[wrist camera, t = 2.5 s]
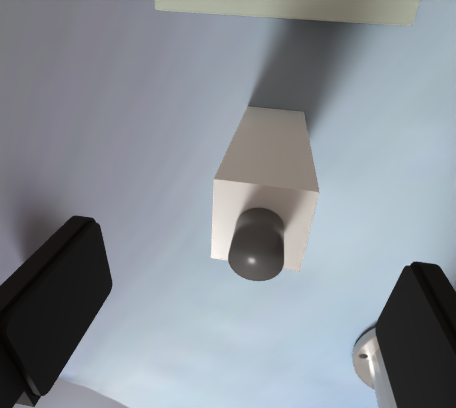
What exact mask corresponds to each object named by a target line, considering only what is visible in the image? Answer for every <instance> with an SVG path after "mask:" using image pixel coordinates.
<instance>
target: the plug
mask: <svg viewBox="0 0 456 408" xmlns="http://www.w3.org/2000/svg"><path fill="white" fill-rule="evenodd" d="M318 196H319V188H318V182H317V177H316V172H315V167H314V162H313V157H312V152H311V146H310V141H309V136H308V131H307V126H306V121H305V116H304V112H302V111H291V110H281V109H271V108H260V107H250V106H247V109H246V111H245V113H244V115H243V117H242V119H241V121H240V124H239V126H238V128H237V130H236V132H235V134H234V137H233V139H232V141H231V143H230V145H229V147H228V149H227V152H226V154H225V156H224V158H223V160H222V162H221V165H220V167H219V169H218V171H217V173H216V175H215V178H214V189H213V218H212V246H211V258H216V259H223V260H228V261H229V264H230V266H231V268H232V269H233V270H234V272H235V273H237V274H238V275H239V276H241V277H243V278H245V279H248V280H253V281H265V280H269V279H271V278H274V277H275V276H277V275H278V274H279V273H280V272H281V270H282V269H287V270H294V271H300V270H301V266H302V262H303V258H304V253H305V249H306V245H307V241H308V237H309V233H310V229H311V225H312V221H313V216H314V212H315V208H316V204H317V200H318Z"/></svg>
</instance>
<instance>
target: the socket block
mask: <svg viewBox="0 0 456 408" xmlns="http://www.w3.org/2000/svg"><path fill="white" fill-rule="evenodd" d="M419 4H420V0H155V10H165V11H175V12H188V13H204V14H220V15H236V16H251V17H267V18H283V19H299V20H314V21H330V22H346V23H362V24H377V25H400V26H412V25H413V22H414V19H415V16H416V13H417V10H418V7H419Z"/></svg>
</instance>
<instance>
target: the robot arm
mask: <svg viewBox="0 0 456 408" xmlns="http://www.w3.org/2000/svg"><path fill="white" fill-rule="evenodd" d="M111 289H112V278H111V274H110V269H109V264H108V260H107V255H106V251H105V246H104V241H103V237H102V232H101V228H100V225H99V224H98V223H96V221H95V220H94V218H90V217H83V216H73V217H71V218H70V219H69V220H68V221H67V222H66V223H65V224H64V225H63V226H62V227H61V228H60V229H59V230H58V231H56V232H55V233H54V234H53V235H52V236H51V237H50V238H49V239H48V240H47V241H46V242H45V243H44V244H43V245H42V246H41V247H40V248H39V249H38V250H37V251H36V252H35V253H34V254H33V255H32V256H31V257H30V258H29V259H28V260H26V261H25V262H24V263H23V264H22V265H21V266H20V267H19V268H18V269H17V270H16V271H15V272H14V273H13V274H12V275H11V276H10V277H9V278H8V279H7V280H6V281H5V282H4V283H3V284H2V285H1V286H0V408H12V407H13V406H14V405H15V403H17V404H22V405H27V406H32V407H35V405H36V403H37V402H38V400H39V399H40V397H41V396H44V395H46V394H47V393H48V392H49V391H50V389H51V388H52V386H53V385H54V383H55V381H56V380H57V378H58V376H59V375H60V373H61V372H62V370H63V368H64V367H65V365H66V363H67V362H68V360H69V359H70V357H71V355H72V354H73V352H74V350H75V349H76V347H77V346H78V344H79V342H80V341H81V339H82V337H83V336H84V334H85V333H86V331H87V329H88V328H89V326H90V324H91V323H92V321H93V320H94V318H95V316H96V315H97V313H98V311H99V310H100V308H101V307H102V305H103V303H104V302H105V300H106V298H107V297H108V295H109V294H110V292H111ZM352 360H353V366H354V369H355V372H356V374H357V376H358V377H359V379H361V380H362V381H363V382H364V383H365V384H366V385H367V386H369V387H370V388H372V389H374V390H375V394H376V398H377V402H378V407H379V408H456V292H455V290H454V288H453V287H452V285H451V284H450V282H449V280H448V279H447V277H446V276H445V274H444V272H443V271H442V269H441V268H440V267H439V266H438V265H436V264H430V263H423V262H413V263H412V264H411V265H410V266H405V267H404V269H403V271H402V273H401V275H400V277H399V279H398V281H397V283H396V285H395V287H394V289H393V291H392V293H391V295H390V297H389V299H388V301H387V303H386V305H385V307H384V309H383V311H382V313H381V315H380V317H379V319H378V321H377V323H376V327H375V328H373V329H371V330H370V331H369V332H367V333H366V334H364V335H363V336H362V337H361V338H360V339H359V340H358V341H357V343H356V345H355V346H354V348H353V353H352Z"/></svg>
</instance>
